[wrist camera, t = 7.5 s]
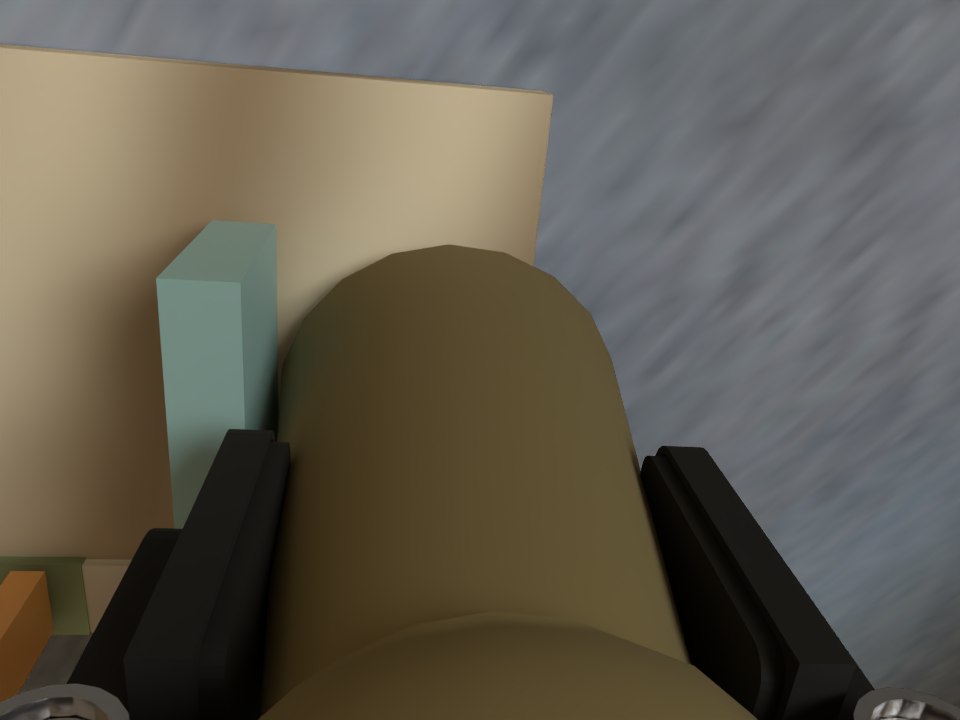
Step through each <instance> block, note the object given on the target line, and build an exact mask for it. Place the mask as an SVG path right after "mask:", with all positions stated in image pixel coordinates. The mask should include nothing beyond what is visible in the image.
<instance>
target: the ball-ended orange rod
mask: <svg viewBox="0 0 960 720" xmlns="http://www.w3.org/2000/svg"><path fill="white" fill-rule="evenodd" d="M53 631H54V627H53V620H52V614H51V607H50V601H49V594H48V588H47V581H46V575H45V571H10V573H9V574H8V575H7V577H6V578H5V580H4V581H3V582H2V584H1V585H0V702H2V701H5V700H7V699H9V698H11V697H13V696H15V695H18V693H19V691H20V690H21V688H22V686H23V684H24V683H25V681H26V679H27V677H28V676H29V674H30V672H31V670H32V668H33V667H34V665H35V663H36V661H37V660H38V658H39V656H40V654H41V653H42V651H43V649H44V647H45V646H46V644H47V642H48V640H49V639H50V637H51V635H52V633H53Z"/></svg>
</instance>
